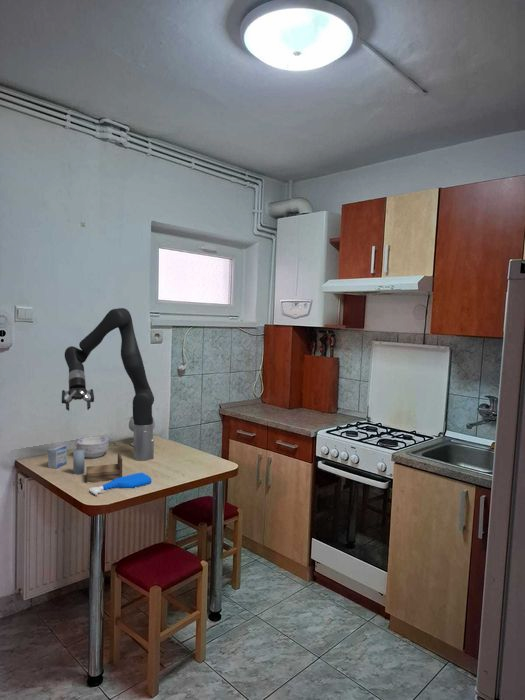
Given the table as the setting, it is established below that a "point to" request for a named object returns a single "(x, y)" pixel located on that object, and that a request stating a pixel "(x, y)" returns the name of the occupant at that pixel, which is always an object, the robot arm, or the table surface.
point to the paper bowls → (93, 446)
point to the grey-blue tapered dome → (78, 461)
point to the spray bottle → (124, 483)
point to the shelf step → (105, 471)
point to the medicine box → (57, 456)
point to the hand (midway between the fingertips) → (78, 409)
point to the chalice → (131, 426)
